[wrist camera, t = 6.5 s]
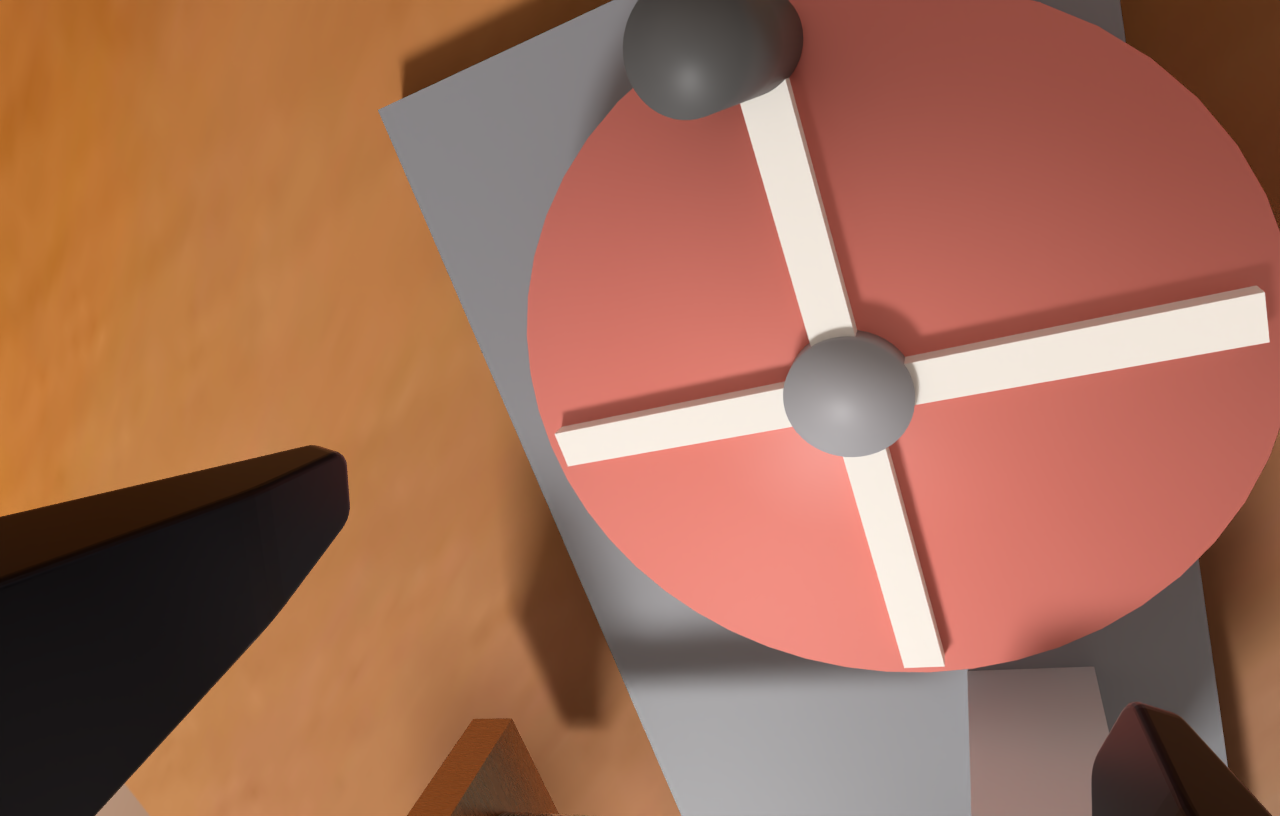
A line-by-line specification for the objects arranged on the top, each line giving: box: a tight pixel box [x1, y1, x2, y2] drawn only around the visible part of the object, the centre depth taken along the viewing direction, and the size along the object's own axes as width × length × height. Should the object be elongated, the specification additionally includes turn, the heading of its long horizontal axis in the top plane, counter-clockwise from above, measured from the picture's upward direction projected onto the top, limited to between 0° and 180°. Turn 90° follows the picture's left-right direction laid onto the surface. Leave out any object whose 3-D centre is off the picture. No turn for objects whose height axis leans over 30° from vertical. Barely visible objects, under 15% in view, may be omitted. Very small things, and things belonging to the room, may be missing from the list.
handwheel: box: [527, 0, 1280, 672], centre depth 15 cm, size 15×15×6 cm
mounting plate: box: [378, 0, 1228, 816], centre depth 18 cm, size 16×26×7 cm, turn 20°
